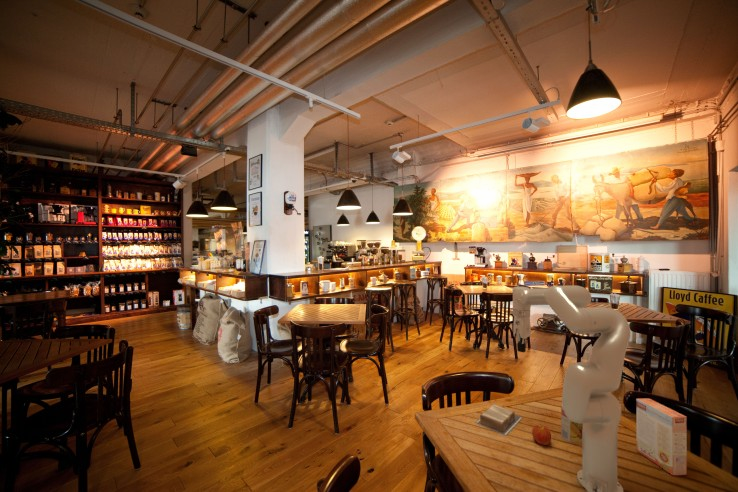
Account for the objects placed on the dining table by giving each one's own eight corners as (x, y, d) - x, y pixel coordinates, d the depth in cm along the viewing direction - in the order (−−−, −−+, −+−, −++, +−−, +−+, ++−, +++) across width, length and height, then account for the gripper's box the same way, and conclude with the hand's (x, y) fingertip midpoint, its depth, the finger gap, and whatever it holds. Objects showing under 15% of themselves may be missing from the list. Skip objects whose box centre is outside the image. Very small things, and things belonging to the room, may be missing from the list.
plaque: (514, 420, 144) (502, 432, 134) (493, 412, 151) (480, 423, 142) (514, 411, 144) (502, 423, 134) (493, 403, 151) (480, 414, 142)
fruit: (552, 441, 129) (552, 422, 129) (550, 450, 123) (550, 430, 123) (533, 436, 133) (533, 417, 133) (531, 444, 127) (531, 424, 127)
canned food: (588, 441, 129) (588, 412, 129) (573, 445, 127) (573, 415, 127) (570, 431, 136) (570, 403, 136) (556, 434, 134) (556, 406, 134)
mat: (506, 436, 132) (506, 435, 132) (475, 423, 142) (475, 422, 142) (523, 418, 146) (523, 417, 146) (493, 407, 156) (493, 406, 156)
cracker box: (688, 475, 110) (687, 416, 110) (672, 476, 109) (671, 416, 109) (649, 449, 124) (649, 397, 124) (635, 450, 123) (635, 397, 123)
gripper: (524, 316, 140) (524, 357, 140) (535, 311, 151) (535, 349, 151) (507, 314, 145) (507, 353, 145) (519, 309, 156) (519, 346, 156)
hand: (521, 351), depth 148 cm, fingers closed
